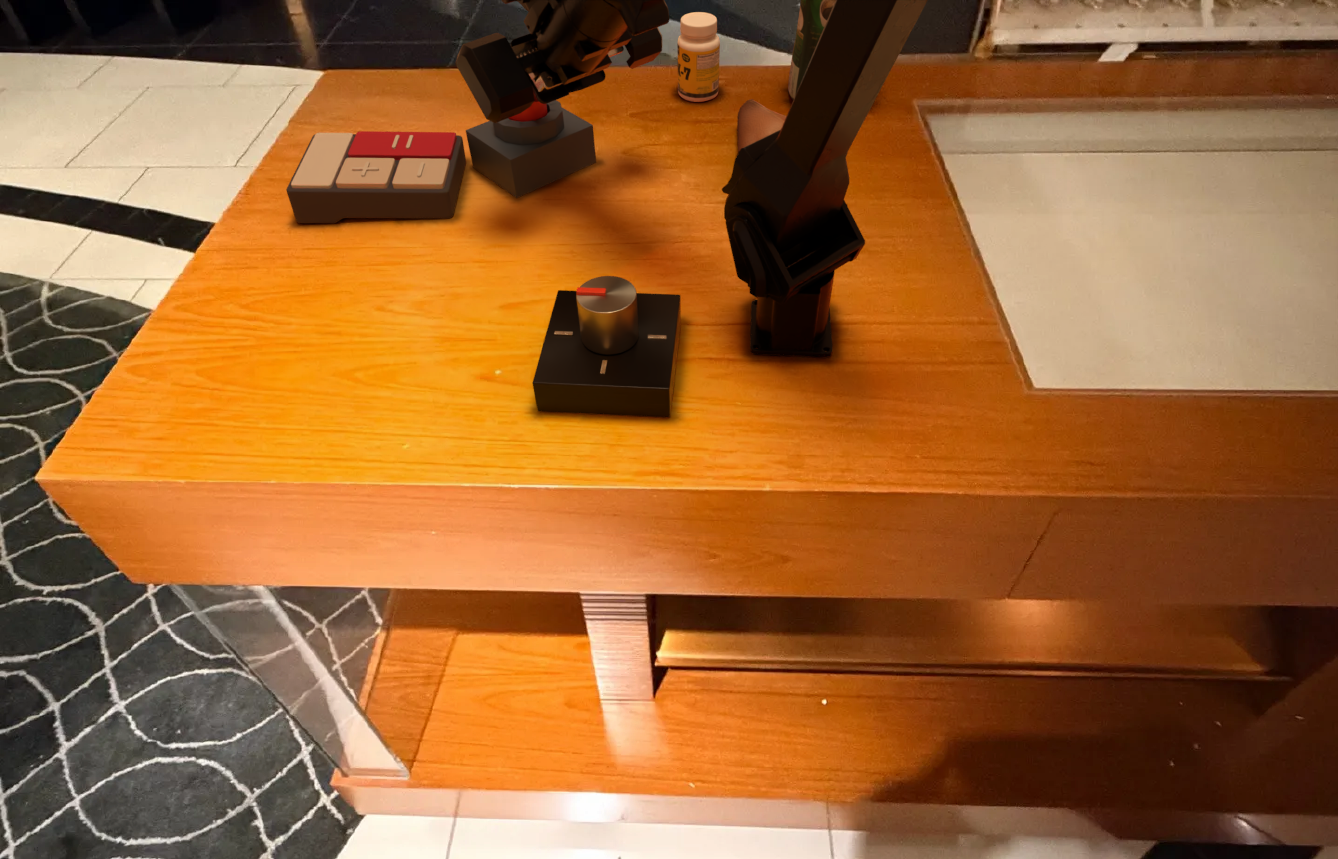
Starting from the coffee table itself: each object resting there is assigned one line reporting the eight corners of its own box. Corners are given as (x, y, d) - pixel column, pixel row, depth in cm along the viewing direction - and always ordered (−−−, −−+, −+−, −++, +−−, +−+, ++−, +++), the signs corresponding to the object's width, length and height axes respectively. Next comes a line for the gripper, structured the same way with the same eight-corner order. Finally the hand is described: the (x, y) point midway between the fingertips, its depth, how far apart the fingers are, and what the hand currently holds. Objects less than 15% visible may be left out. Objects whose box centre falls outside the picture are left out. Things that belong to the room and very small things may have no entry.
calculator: (447, 184, 80) (282, 183, 79) (453, 224, 83) (295, 223, 82) (461, 127, 87) (311, 126, 86) (467, 166, 90) (322, 164, 90)
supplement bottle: (671, 88, 100) (670, 14, 94) (709, 81, 102) (710, 7, 95) (686, 106, 97) (686, 30, 91) (725, 98, 98) (727, 23, 92)
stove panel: (670, 418, 64) (669, 387, 61) (537, 411, 64) (531, 381, 62) (680, 323, 71) (680, 292, 69) (561, 318, 72) (557, 288, 69)
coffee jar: (867, 81, 101) (894, -98, 87) (875, 112, 96) (905, -73, 82) (784, 80, 101) (799, -98, 88) (787, 112, 96) (803, -72, 82)
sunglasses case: (831, 216, 81) (800, 160, 76) (764, 248, 83) (731, 196, 79) (814, 124, 93) (786, 71, 89) (756, 154, 96) (727, 105, 92)
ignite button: (555, 115, 85) (552, 90, 83) (522, 129, 83) (518, 104, 81) (532, 102, 87) (528, 77, 85) (499, 115, 85) (495, 90, 83)
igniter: (596, 163, 89) (591, 107, 85) (516, 198, 85) (507, 142, 80) (551, 135, 93) (544, 81, 89) (472, 168, 89) (461, 113, 84)
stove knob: (641, 318, 67) (639, 273, 64) (635, 355, 64) (633, 310, 61) (585, 316, 67) (580, 271, 64) (577, 353, 64) (571, 308, 61)
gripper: (636, -114, 71) (570, -9, 85) (442, -61, 63) (404, 46, 77) (700, 11, 73) (625, 94, 87) (519, 79, 65) (468, 159, 78)
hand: (534, 96), depth 82 cm, fingers closed, pressing on ignite button
